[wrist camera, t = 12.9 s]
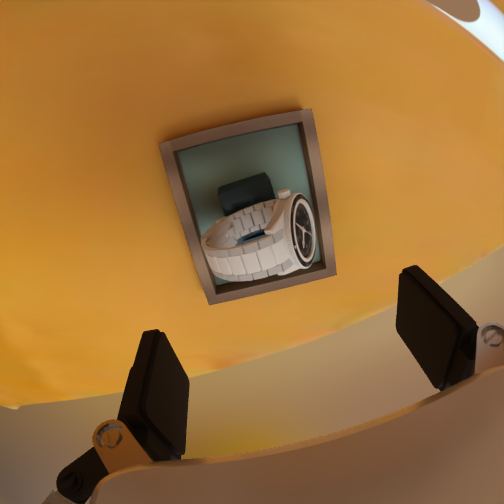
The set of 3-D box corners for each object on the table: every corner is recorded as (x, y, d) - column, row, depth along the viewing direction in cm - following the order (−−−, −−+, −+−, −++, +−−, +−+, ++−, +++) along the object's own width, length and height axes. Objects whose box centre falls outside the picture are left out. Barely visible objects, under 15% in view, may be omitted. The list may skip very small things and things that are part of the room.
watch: (301, 221, 28) (340, 276, 18) (220, 247, 29) (217, 315, 19) (285, 164, 26) (322, 191, 16) (199, 192, 26) (182, 236, 16)
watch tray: (165, 142, 25) (158, 143, 23) (303, 110, 25) (311, 108, 23) (210, 290, 32) (209, 305, 29) (328, 262, 32) (336, 274, 29)
